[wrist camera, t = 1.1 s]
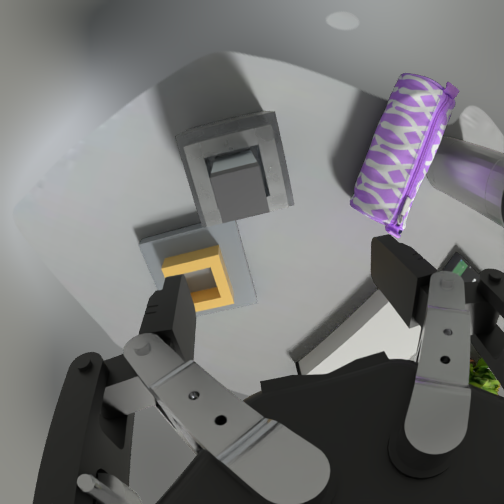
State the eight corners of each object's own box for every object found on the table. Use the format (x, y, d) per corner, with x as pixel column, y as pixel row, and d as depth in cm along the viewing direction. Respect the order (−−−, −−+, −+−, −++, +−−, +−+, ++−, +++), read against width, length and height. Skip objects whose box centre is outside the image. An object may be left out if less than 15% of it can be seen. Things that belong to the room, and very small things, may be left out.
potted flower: (488, 322, 60) (525, 366, 44) (498, 356, 69) (525, 393, 53) (416, 384, 66) (442, 435, 51) (438, 406, 75) (460, 447, 59)
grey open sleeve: (263, 110, 37) (279, 112, 25) (279, 182, 41) (300, 214, 30) (187, 129, 37) (169, 139, 26) (207, 199, 42) (200, 238, 30)
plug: (250, 149, 29) (259, 165, 21) (258, 183, 31) (269, 211, 23) (214, 158, 30) (209, 178, 22) (223, 191, 31) (222, 223, 23)
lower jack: (234, 214, 43) (235, 228, 38) (256, 295, 49) (259, 315, 45) (141, 239, 43) (133, 254, 39) (173, 313, 50) (169, 333, 45)
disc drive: (294, 362, 58) (298, 380, 53) (380, 282, 51) (392, 298, 46) (347, 387, 64) (354, 404, 59) (423, 322, 57) (434, 337, 52)
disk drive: (482, 278, 54) (454, 250, 49) (490, 285, 51) (462, 256, 47) (455, 314, 57) (422, 292, 53) (461, 322, 55) (429, 300, 50)
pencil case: (386, 222, 45) (416, 249, 37) (336, 206, 44) (361, 231, 35) (432, 95, 36) (472, 99, 28) (384, 67, 35) (420, 62, 26)
